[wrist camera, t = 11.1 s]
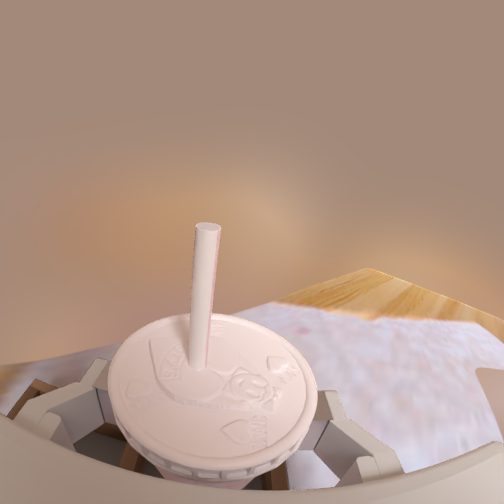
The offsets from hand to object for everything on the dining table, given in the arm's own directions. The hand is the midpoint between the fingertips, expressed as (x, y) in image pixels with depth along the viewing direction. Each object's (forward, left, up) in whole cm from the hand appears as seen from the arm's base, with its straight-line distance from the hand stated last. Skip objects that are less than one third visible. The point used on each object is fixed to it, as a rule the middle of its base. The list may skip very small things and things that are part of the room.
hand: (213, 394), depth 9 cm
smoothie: (0, 0, -8) cm, 8 cm away
